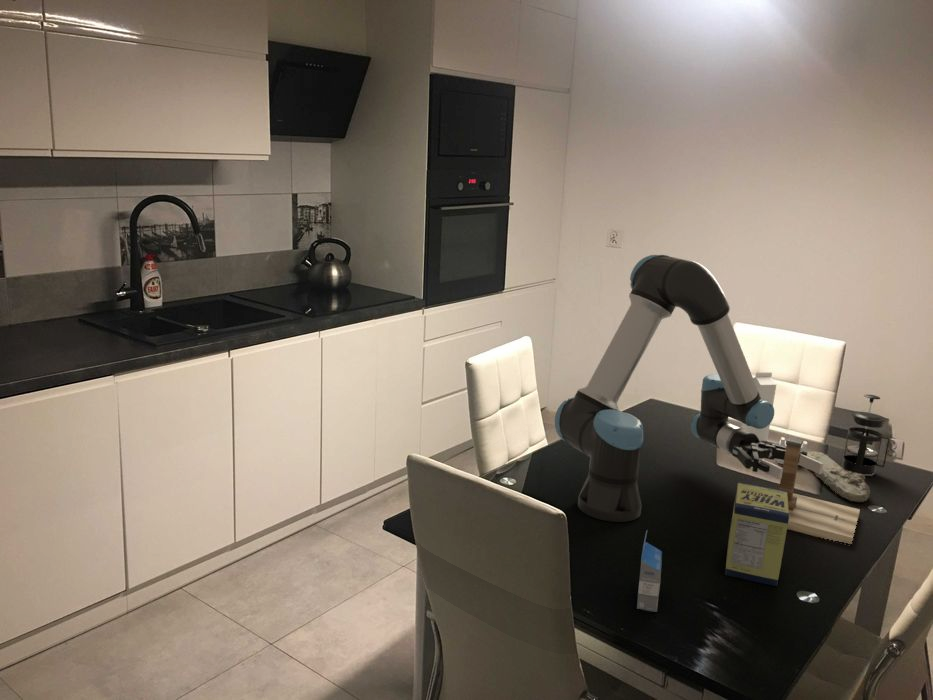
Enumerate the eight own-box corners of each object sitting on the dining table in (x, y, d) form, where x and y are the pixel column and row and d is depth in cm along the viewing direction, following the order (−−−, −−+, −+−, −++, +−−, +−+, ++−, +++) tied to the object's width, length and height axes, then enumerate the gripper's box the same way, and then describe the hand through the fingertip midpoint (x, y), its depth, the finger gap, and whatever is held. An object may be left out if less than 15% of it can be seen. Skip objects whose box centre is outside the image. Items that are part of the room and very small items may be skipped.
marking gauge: (792, 510, 196) (804, 445, 192) (771, 505, 198) (782, 440, 194) (795, 504, 200) (807, 440, 196) (775, 499, 202) (785, 435, 199)
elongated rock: (826, 464, 242) (793, 463, 243) (828, 447, 242) (795, 446, 242) (880, 505, 208) (841, 504, 208) (882, 486, 207) (843, 484, 207)
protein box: (776, 555, 176) (787, 489, 172) (777, 587, 161) (790, 516, 158) (727, 545, 179) (737, 480, 176) (724, 575, 165) (735, 505, 161)
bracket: (802, 468, 234) (807, 444, 232) (777, 463, 236) (781, 439, 234) (802, 455, 245) (806, 432, 244) (777, 450, 248) (781, 427, 246)
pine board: (851, 545, 183) (852, 537, 183) (756, 520, 193) (757, 513, 193) (858, 516, 200) (860, 509, 200) (771, 495, 210) (772, 488, 210)
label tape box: (656, 613, 148) (665, 552, 146) (634, 608, 150) (642, 548, 147) (658, 590, 157) (666, 532, 154) (637, 586, 158) (645, 529, 155)
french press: (836, 471, 233) (850, 395, 228) (839, 462, 241) (853, 388, 236) (881, 481, 227) (896, 403, 222) (883, 471, 235) (897, 396, 230)
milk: (767, 441, 256) (778, 375, 251) (751, 441, 254) (762, 375, 249) (755, 435, 261) (766, 370, 256) (739, 435, 260) (750, 370, 255)
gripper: (770, 451, 219) (835, 480, 200) (700, 459, 208) (760, 491, 190) (775, 425, 217) (840, 452, 198) (704, 432, 207) (765, 461, 188)
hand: (801, 471), depth 194 cm, fingers open, 13 cm apart
